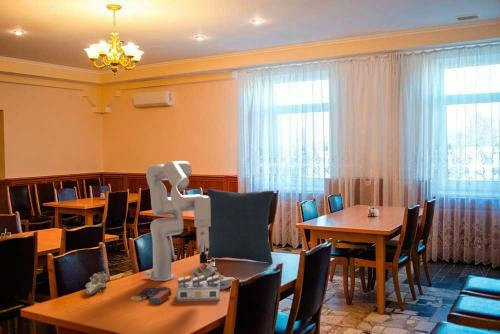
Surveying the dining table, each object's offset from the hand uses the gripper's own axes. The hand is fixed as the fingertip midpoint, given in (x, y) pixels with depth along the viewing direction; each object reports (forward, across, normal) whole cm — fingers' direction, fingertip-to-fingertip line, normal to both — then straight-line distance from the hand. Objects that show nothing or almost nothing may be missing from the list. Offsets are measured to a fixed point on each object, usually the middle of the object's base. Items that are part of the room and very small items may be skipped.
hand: (203, 262), depth 221 cm
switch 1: (+8, 0, +9) cm, 12 cm away
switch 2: (+8, 0, +2) cm, 8 cm away
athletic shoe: (+16, +18, -4) cm, 24 cm away
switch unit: (+16, +1, +2) cm, 16 cm away
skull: (+15, +14, +53) cm, 57 cm away
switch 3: (+8, 0, -4) cm, 9 cm away
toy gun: (+16, +1, +23) cm, 29 cm away
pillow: (+15, +70, -19) cm, 75 cm away
